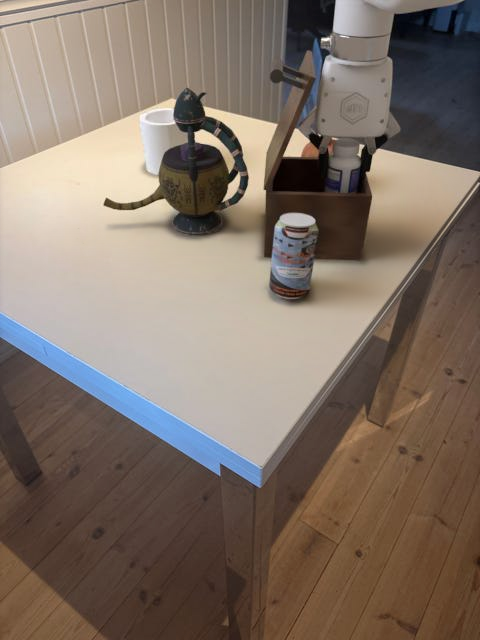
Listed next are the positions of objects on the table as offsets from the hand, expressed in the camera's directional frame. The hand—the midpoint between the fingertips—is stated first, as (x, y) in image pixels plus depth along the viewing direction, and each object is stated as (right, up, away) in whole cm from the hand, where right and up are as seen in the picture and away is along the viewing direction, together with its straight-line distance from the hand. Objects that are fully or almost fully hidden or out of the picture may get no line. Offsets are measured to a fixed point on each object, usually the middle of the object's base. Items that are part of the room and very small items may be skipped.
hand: (342, 174), depth 77 cm
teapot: (-28, -6, +12) cm, 31 cm away
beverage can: (-9, -19, -3) cm, 21 cm away
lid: (-9, +6, -5) cm, 12 cm away
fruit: (+1, +4, +23) cm, 23 cm away
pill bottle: (0, -3, +3) cm, 4 cm away
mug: (-32, +12, +32) cm, 46 cm away
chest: (-4, -8, +8) cm, 12 cm away
